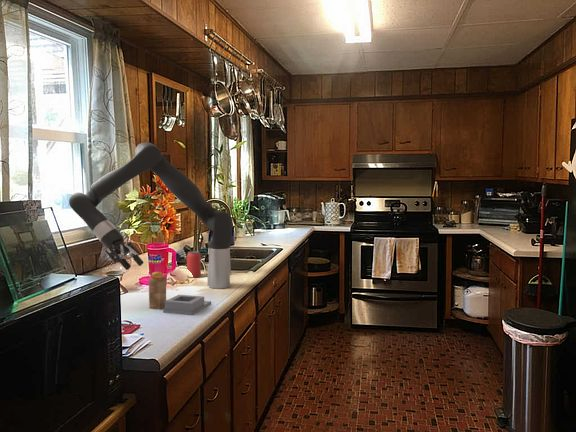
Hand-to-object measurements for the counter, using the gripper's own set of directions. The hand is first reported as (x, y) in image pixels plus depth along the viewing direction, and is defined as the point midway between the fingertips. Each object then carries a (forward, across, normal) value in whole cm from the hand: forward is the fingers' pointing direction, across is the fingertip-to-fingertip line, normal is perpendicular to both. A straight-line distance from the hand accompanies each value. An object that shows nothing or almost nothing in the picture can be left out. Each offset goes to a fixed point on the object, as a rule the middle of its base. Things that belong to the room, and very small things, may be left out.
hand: (135, 266), depth 193 cm
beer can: (+9, +54, +13) cm, 56 cm away
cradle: (+25, +2, -4) cm, 25 cm away
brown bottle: (+17, 0, +4) cm, 17 cm away
